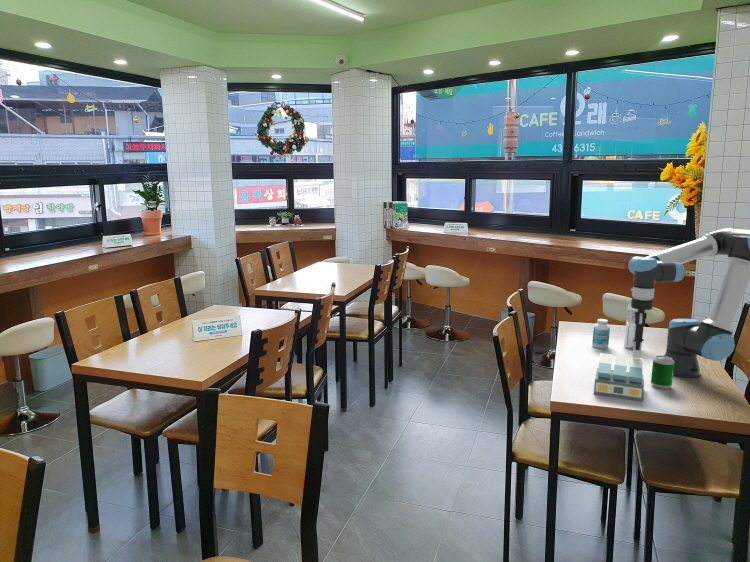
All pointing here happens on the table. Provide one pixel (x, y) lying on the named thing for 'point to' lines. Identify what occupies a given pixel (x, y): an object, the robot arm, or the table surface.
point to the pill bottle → (601, 334)
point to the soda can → (662, 372)
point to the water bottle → (630, 327)
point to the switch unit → (619, 387)
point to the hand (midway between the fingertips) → (636, 357)
